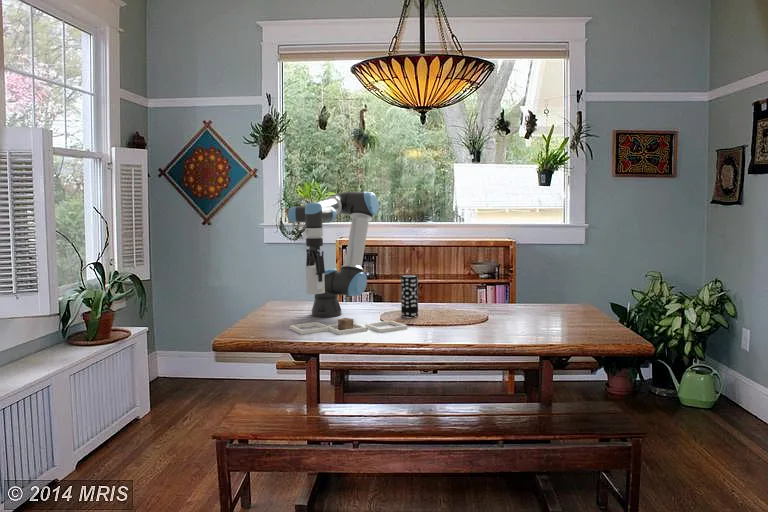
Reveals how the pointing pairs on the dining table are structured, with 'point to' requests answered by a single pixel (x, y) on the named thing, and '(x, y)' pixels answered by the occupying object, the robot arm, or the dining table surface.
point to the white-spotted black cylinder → (409, 295)
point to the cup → (313, 281)
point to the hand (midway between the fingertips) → (315, 287)
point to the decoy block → (345, 324)
